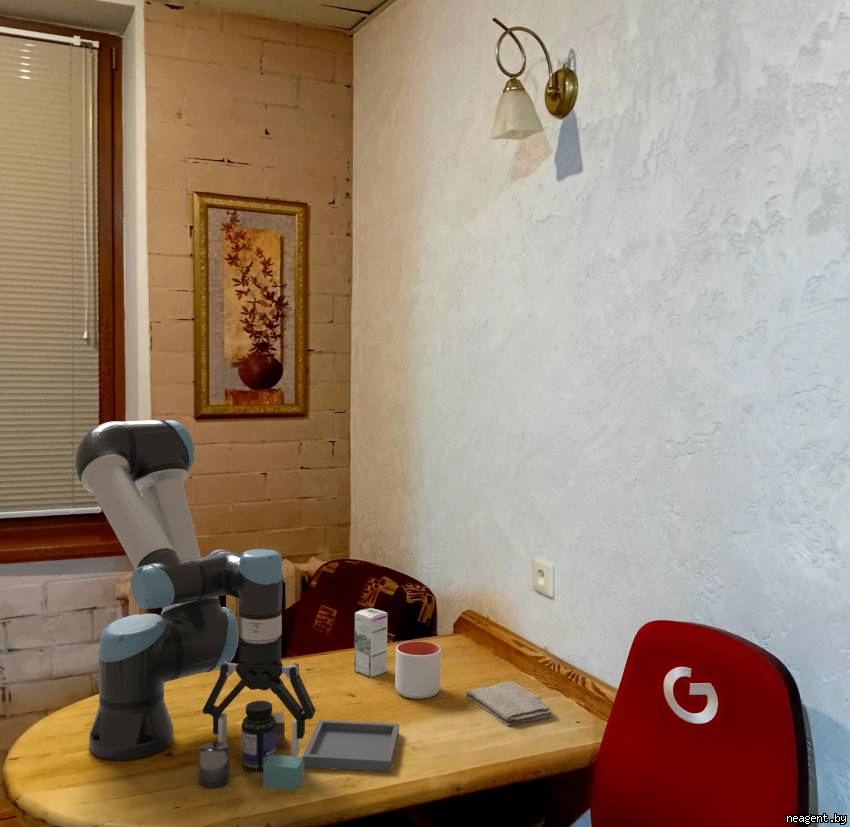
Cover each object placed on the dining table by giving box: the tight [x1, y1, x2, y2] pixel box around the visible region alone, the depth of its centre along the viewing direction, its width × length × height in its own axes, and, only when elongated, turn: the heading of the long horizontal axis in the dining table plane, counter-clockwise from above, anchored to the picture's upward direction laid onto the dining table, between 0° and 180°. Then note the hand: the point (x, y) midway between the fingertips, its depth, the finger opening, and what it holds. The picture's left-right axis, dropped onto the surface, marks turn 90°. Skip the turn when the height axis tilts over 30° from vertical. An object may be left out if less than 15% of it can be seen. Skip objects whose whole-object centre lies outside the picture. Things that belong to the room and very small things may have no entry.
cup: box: [394, 640, 442, 700], centre depth 192 cm, size 10×10×10 cm
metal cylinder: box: [198, 741, 230, 790], centre depth 149 cm, size 5×5×6 cm
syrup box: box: [353, 607, 388, 678], centre depth 203 cm, size 6×6×14 cm
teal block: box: [262, 754, 305, 791], centre depth 150 cm, size 6×4×4 cm, turn 81°
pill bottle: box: [241, 700, 277, 773], centre depth 156 cm, size 6×6×11 cm
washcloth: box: [465, 681, 554, 727], centre depth 185 cm, size 12×18×3 cm, turn 29°
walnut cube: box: [271, 711, 286, 750], centre depth 165 cm, size 5×5×5 cm
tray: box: [301, 719, 400, 773], centre depth 163 cm, size 16×16×2 cm
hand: (258, 753), depth 156 cm, fingers open, 13 cm apart
